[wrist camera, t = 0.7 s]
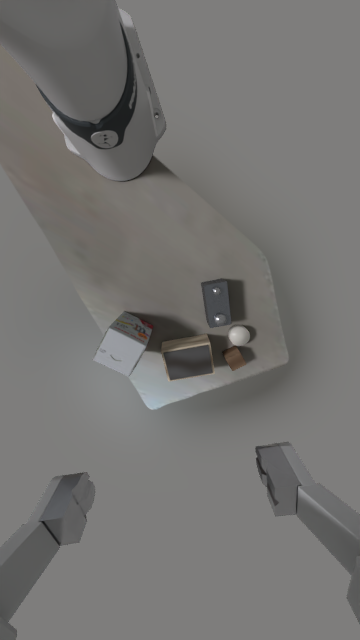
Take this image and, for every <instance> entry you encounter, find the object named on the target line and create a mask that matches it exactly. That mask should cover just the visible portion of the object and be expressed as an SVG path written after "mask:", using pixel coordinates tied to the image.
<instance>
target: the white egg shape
mask: <svg viewBox="0 0 360 640" xmlns="http://www.w3.org/2000/svg"><path fill="white" fill-rule="evenodd" d="M228 337H229V339H230V341H231V342H232V343H233V344H234V345H236V346H242V345H245V344H246V343H247V342H248V341H249V339H250V333H249V331H248V330H247V329H246V328H245V327H244V326H242V325H234V326H232V327H231V328H230V329H229V331H228Z"/></svg>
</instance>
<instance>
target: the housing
mask: <svg viewBox="0 0 360 640" xmlns="http://www.w3.org/2000/svg"><path fill="white" fill-rule="evenodd" d="M201 286H202V293H203V300H204V306H205V313H206V320H207V323H208V325H209V327H210V328H213V327H219V326H224V325H229V324H231V315H230V306H229V296H228V286H227V281H226V280H223V279H217V280H212V281H207V282H202V283H201Z"/></svg>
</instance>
